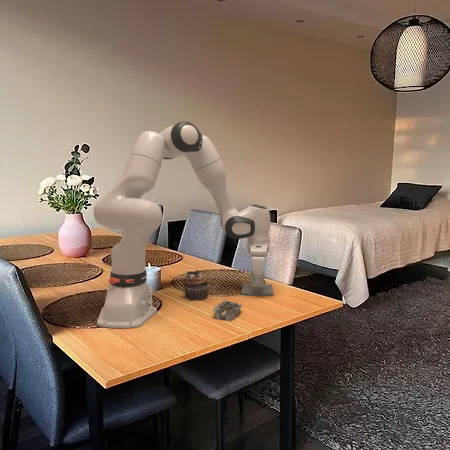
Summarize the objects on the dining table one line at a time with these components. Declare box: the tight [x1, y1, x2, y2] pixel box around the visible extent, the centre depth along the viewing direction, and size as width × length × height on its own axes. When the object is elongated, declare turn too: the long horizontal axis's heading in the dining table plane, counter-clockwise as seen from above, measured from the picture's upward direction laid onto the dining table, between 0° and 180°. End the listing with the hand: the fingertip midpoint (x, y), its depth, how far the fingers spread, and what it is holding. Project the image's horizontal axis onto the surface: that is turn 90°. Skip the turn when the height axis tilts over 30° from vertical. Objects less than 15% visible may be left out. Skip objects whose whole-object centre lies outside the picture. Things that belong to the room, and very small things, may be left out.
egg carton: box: [212, 299, 242, 322], centre depth 154 cm, size 11×8×4 cm
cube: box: [250, 270, 265, 287], centre depth 180 cm, size 5×5×5 cm
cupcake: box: [182, 269, 210, 302], centre depth 172 cm, size 10×10×10 cm
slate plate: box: [241, 283, 274, 297], centre depth 181 cm, size 12×12×1 cm
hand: (257, 280), depth 180 cm, fingers closed on cube, 5 cm apart
